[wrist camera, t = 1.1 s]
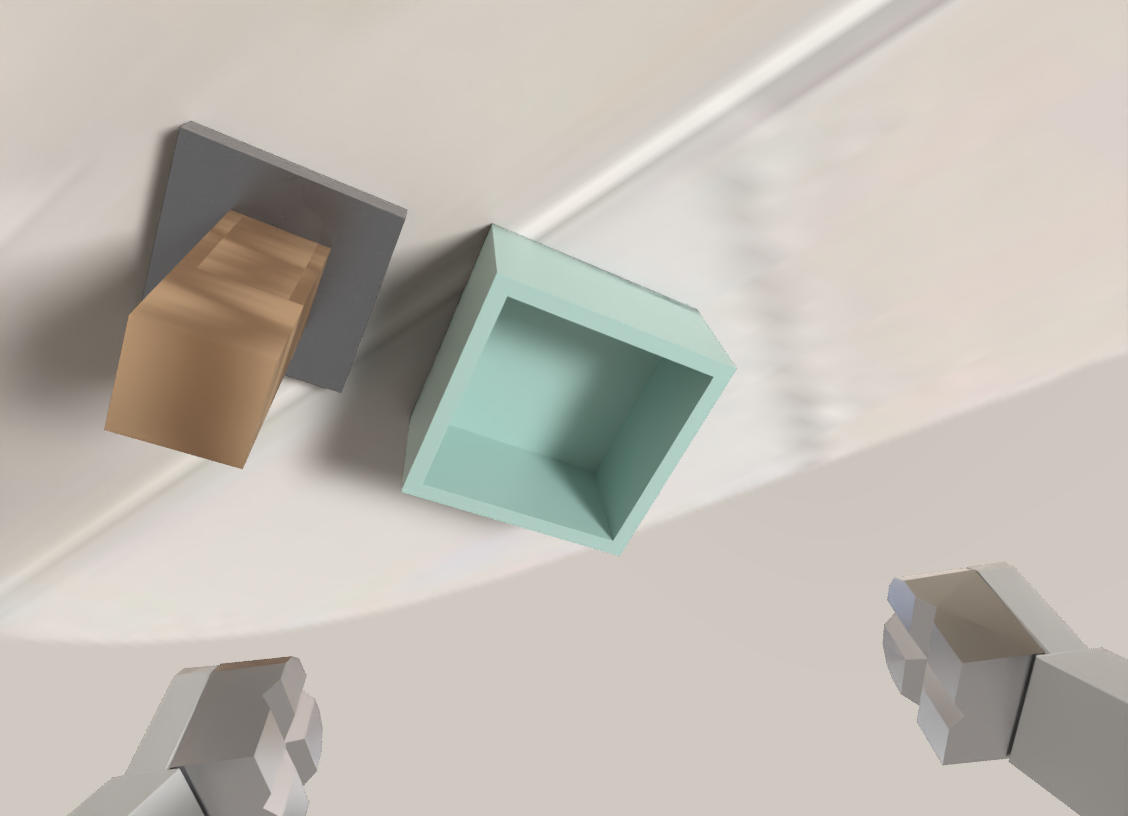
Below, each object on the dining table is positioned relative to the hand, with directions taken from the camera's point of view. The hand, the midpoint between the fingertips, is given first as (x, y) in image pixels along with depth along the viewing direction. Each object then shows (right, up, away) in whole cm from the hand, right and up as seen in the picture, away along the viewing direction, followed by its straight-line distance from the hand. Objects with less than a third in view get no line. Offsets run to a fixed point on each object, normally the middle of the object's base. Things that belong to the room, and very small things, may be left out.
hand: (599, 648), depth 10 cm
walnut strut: (-15, +10, +25) cm, 31 cm away
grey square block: (-15, +10, +27) cm, 32 cm away
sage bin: (-1, +6, +31) cm, 32 cm away
